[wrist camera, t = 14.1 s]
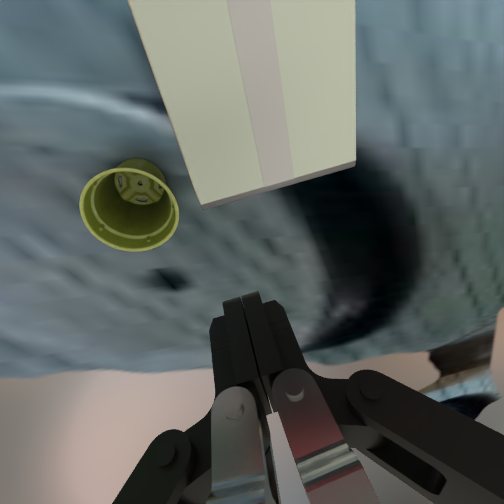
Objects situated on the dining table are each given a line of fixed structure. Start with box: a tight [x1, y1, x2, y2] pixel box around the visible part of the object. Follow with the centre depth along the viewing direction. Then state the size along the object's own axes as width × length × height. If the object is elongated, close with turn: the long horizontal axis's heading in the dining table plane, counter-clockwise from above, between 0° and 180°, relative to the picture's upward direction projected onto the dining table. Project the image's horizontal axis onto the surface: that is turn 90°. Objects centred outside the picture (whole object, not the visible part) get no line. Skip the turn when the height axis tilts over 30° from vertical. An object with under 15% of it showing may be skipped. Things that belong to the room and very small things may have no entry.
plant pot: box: [79, 158, 179, 251], centre depth 33 cm, size 9×9×9 cm
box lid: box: [129, 0, 356, 210], centre depth 24 cm, size 16×17×1 cm
